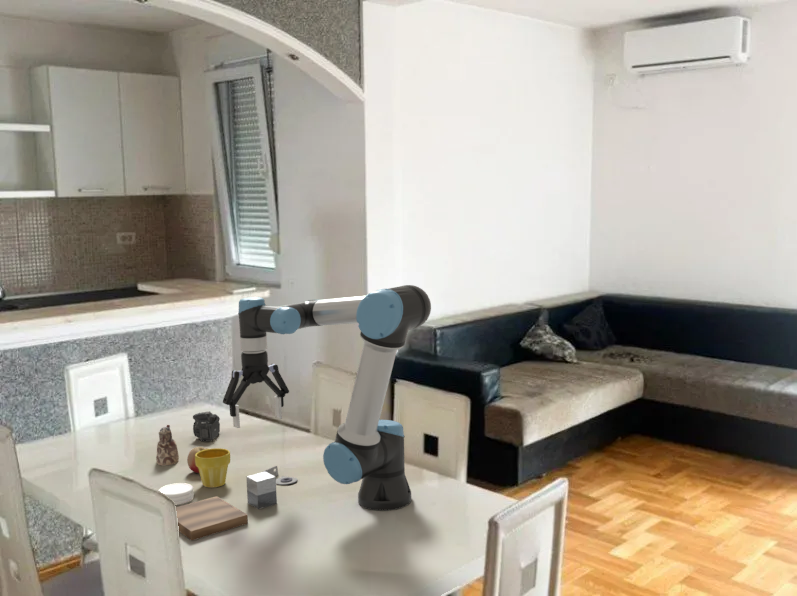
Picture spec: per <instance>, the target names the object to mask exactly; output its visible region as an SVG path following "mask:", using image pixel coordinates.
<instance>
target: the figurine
mask: <svg viewBox="0 0 797 596" xmlns="http://www.w3.org/2000/svg"><path fill="white" fill-rule="evenodd" d="M158 438H159V441H158V442H157V445H156V457H155V460H156V464H158V465H159V466H171V465H175V464H177V463H179V458H180V457H179V456H180V455H179V450H178V449H179V448H178V446H177V443H176V441H175V440H174V439H173V435H172V430H171V426H170V424H166V426H163V427H161V428H160V430H159V431H158Z"/></svg>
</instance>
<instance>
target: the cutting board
mask: <svg viewBox="0 0 797 596" xmlns="http://www.w3.org/2000/svg"><path fill="white" fill-rule="evenodd" d="M175 507H176V511H177V518H178V526H179V531H178V532H179V533H180V534H182V535H184V536H185V537H186V538H187V539H188V540H190V541H191V542H192V541H195V540H199V539H202V538H206V537H209V536H212V535H214V534H218V533H219V534H220V533H222V532H225V531H228V530H231V529H235V528H238V527H241V526H244V525H247V524H249V523H248V522H249V521H248V520H249V519H248V516H249V515H248V514H247V513H246V512H244V511H242V510H241V509H240V508H237V507H235V506H233V505H232V504H231V503H229V502H227V501H226V500H223V499H222V498H220V497H219V496H217V495H216V496H213V497H208V498H205V499H201V500H197V501H193V502H191V503H185V504H181V505H178V506H175Z"/></svg>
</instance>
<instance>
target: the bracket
mask: <svg viewBox="0 0 797 596" xmlns="http://www.w3.org/2000/svg"><path fill="white" fill-rule="evenodd" d="M262 472H267V473H269V474H271V475H273V476H275V477H277V476H279V470H278V465H274V466H272V467H269V468H268V469H265V470H264V471H262ZM297 481H298V478H297V477H293V476H286V475H285V476H284V475H282V476H280V477H278V478H276V485H279V486H284V485H286V486H287V485H291V484H294V483H296V482H297Z"/></svg>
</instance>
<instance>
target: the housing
mask: <svg viewBox="0 0 797 596" xmlns="http://www.w3.org/2000/svg"><path fill="white" fill-rule="evenodd" d="M245 477H246V493H247V495H246V496H247V504H248V505H250V506H252V507H253V508H255V509H257V510H261V509H264V508H267V507H272V506H275V505H277V504H278V499H277V495H278V494H277V484H276V479H277V476H273V475H271V474H269V473H267V472H263V471H262V472H258V473H253V474H250V475H247V476H245Z"/></svg>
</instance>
